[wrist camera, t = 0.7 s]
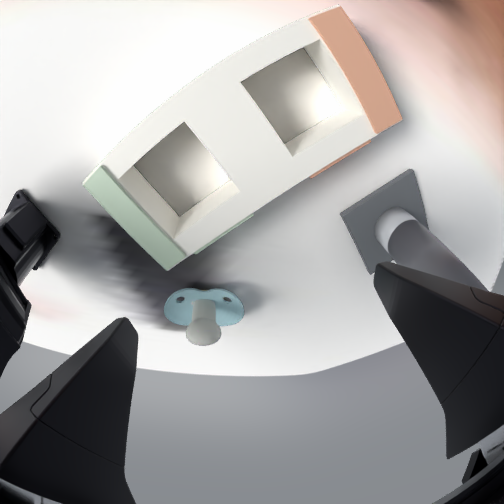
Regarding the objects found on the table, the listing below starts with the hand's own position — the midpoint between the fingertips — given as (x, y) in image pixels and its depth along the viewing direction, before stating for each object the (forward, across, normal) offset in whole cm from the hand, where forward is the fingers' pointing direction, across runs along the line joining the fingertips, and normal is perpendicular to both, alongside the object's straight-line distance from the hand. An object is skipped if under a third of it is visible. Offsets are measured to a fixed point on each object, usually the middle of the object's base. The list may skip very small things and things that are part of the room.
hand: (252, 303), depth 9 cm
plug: (+12, +14, -7) cm, 20 cm away
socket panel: (+13, +1, +4) cm, 14 cm away
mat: (+13, +14, -7) cm, 20 cm away
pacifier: (+14, -5, -12) cm, 19 cm away
